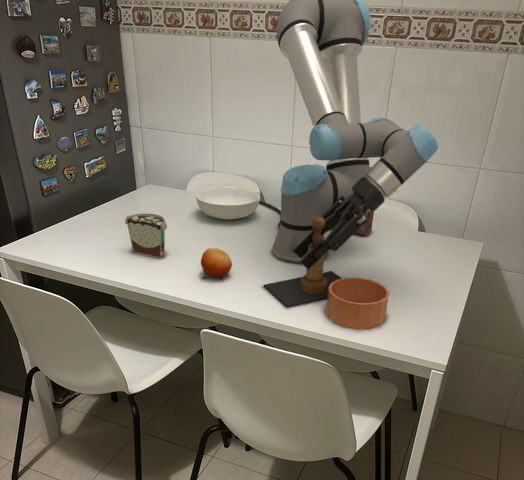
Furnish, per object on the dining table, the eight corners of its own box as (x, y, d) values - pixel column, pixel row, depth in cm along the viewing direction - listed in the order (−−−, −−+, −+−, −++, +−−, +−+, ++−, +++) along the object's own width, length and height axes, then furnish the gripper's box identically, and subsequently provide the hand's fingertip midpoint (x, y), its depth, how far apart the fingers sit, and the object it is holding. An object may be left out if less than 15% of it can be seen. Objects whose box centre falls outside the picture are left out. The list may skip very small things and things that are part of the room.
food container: (177, 251, 146) (175, 217, 141) (165, 259, 142) (162, 224, 136) (141, 244, 150) (138, 210, 145) (128, 251, 146) (124, 216, 140)
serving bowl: (259, 227, 164) (259, 205, 160) (193, 225, 164) (192, 204, 160) (260, 206, 182) (260, 186, 178) (200, 204, 182) (199, 185, 178)
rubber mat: (263, 286, 129) (263, 284, 128) (331, 272, 136) (331, 270, 136) (286, 307, 120) (286, 305, 120) (357, 291, 128) (358, 289, 127)
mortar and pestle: (324, 296, 124) (332, 223, 114) (298, 293, 125) (302, 220, 115) (327, 284, 129) (334, 213, 119) (301, 281, 130) (306, 211, 120)
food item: (324, 229, 164) (327, 198, 158) (334, 222, 170) (337, 191, 164) (364, 237, 158) (369, 206, 153) (374, 230, 164) (378, 199, 158)
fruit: (194, 263, 136) (208, 238, 133) (220, 277, 139) (235, 253, 135) (193, 277, 129) (208, 251, 126) (220, 291, 132) (236, 266, 129)
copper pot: (315, 306, 121) (317, 283, 117) (362, 296, 126) (365, 273, 122) (348, 333, 111) (351, 309, 107) (397, 320, 116) (401, 297, 113)
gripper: (401, 212, 110) (321, 286, 116) (369, 187, 126) (300, 254, 132) (382, 187, 106) (300, 266, 112) (350, 165, 122) (280, 235, 128)
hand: (300, 259), depth 122 cm, fingers open, 6 cm apart
